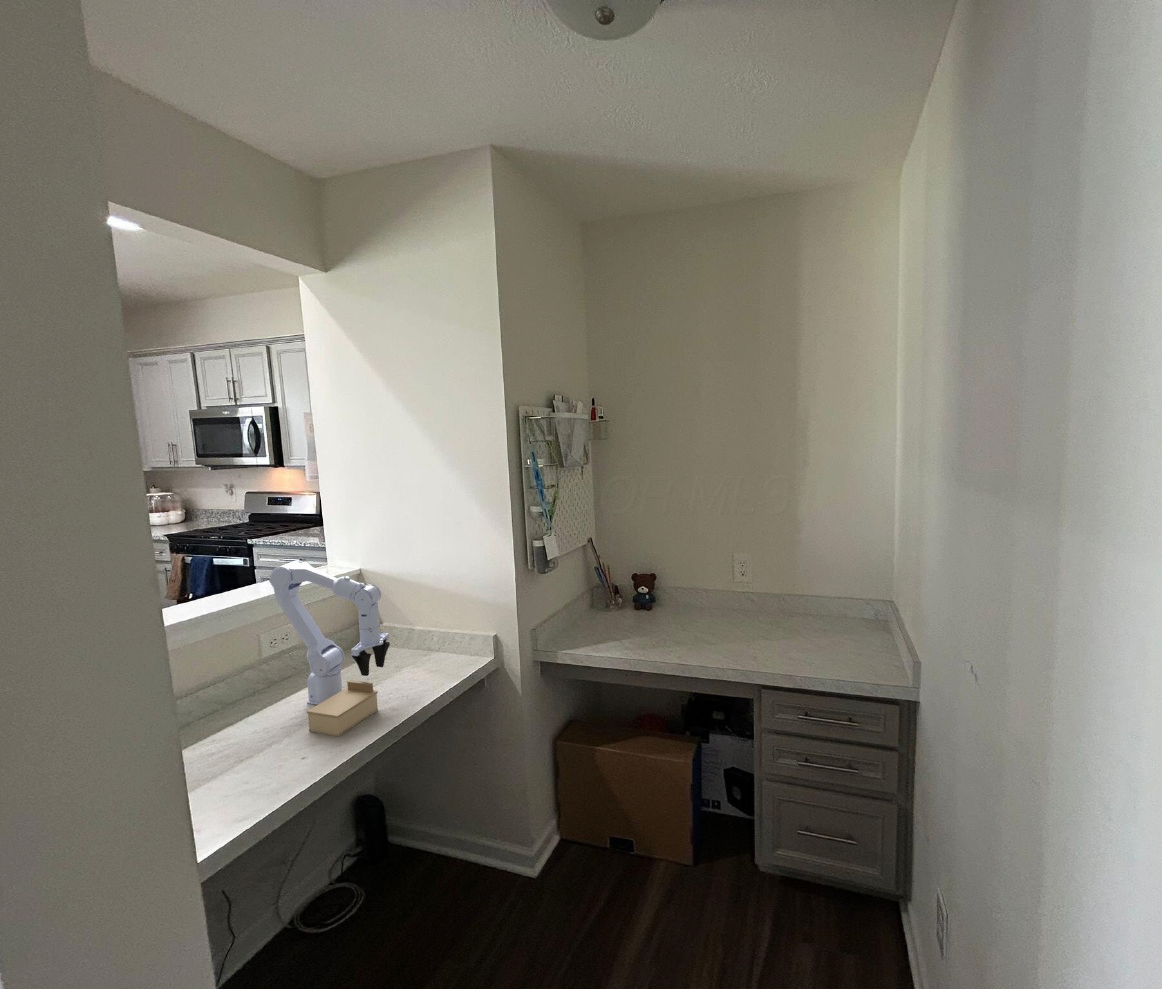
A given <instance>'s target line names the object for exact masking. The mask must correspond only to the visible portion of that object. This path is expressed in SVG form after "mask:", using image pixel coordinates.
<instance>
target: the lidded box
mask: <svg viewBox="0 0 1162 989" xmlns="http://www.w3.org/2000/svg"><path fill="white" fill-rule="evenodd" d="M378 706H379V705H378V693H377V694H375V695H374V696H372V697H371V698H369V699H367V700H366V701H364V702H363V703H361V704H359V705H358V706H356V707H355V708H353V709H351V710H350V711H348V712H347V713H345V714H344V715H342V716H340V717H339V718H333V717H327V716H321V715H315V714H308V713H307V718H308V719H307V720H308V730H309V731H308V732H311V733H317V734H322V735H323V734H324V735H329V736H335V737H340V736H342V735H343V734H345V733H346V732H348V731H349V730H351V729H352V728H354V727H356V726H357V725H359V724H360V723H362V722H363V721H365V720H366V719H367V718H369V717H370V716H372V715H374V713H376V712H378V708H379V707H378Z"/></svg>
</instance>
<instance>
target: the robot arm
mask: <svg viewBox="0 0 1162 989" xmlns="http://www.w3.org/2000/svg"><path fill="white" fill-rule="evenodd" d="M268 581H269V583H270V585H271V587H272V588H273V592H274V596H275V600H276V602H277V604H278V605H279V607H280V608H281V610H282V611H283V613H284V614H285V616H286V617H287V619H288V620H289V622H290V624H291V625H292V627H293V628H294V629H295V631H296V632H297V634H298V636H299V637H300V639H301V641H302V642H303V643H304V645H305V646H306V648H307V651H306V660H307V661H308V663H309V669H310V671H311V673H309V676H308V678H307V682H306V683H307V684H306V685H307V695H308V700H307V701H306V703H307V704H311V705H315V706H316V705H318V704H320V703H322V702H323V701H325V700H327V699H328V698H330V697H332V696H334V695H335V694H337V693H339V692H341V691H342V690H343V680H342V663H343V662H344V660H345V653H344V650H343V649H342V647H340V646H338V645H337V644H336V643H335V642H334V640H332V639H328V638H326V637H325V636H324V634H323V633H322V631H321V630H320V627H319V626H318V625H317V623H316V622H315V620H314V618H313V617H312V615H311V614H310V613H309V611H308V609H307V608H306V606H305V605H304V604H303V602H302V601H301V600H302V599H301V598H300V597H299V596H298V593H299V590H300V587H301V585H302V584H303V583H305V582H310V583H313V584H315V585H318V586H321V587H325V588H327V589H329V590H332V593H333V595H334V596H336V597H340V598H342V599H345V600H347V601H350V602H351V603H352V602H353V604H354V606H355V607H356V609H357V613H358V625H359V628H358V629H359V643H357V644H356V645H355V646H353V647H352V648H351V649H350V650H351V652H350V653H351V657H352V658H353V660H354V661H355V664H356V665H357V667H358V669H359V672H360V675H361V676H362V677H363V676H364V677H368V676H369V674H370V660H371V658H372V653H368V652H367V651H368V650H369V649H372V651H373V655H374V661H375V666H376V667H377V668H378V667H379V668H383V667H384V666H385V660H386V656H387V652H388V649H389V647H390V646H391V645H390V642H389V640H390V636H389V635H390V634H389V633H385V632H383V633H381V626H380V612H379V611H380V610H379V601H380V599H381V597H382V593H381V590H380V588H379V587H378V586H376V585H375V584H373V583H371V584H370V583H369V584H367V585H365V583H363V582H357V581H356V580H353V579H351V577H350V576H348V575H346V576H341V577H338V578H337V577H335V576H333V575H330V574H328V573H326V572H323V571H322V570H320V569H318V568H316V567H314V566H311V565H310V563H308V562H303V561H302V560H297V559H296V560H293V561H291V562H288V563H286V564H283V565H281V566H279V565H278V566H277V567H274V568H273V569H272V571H271V574H270V577H269V579H268Z"/></svg>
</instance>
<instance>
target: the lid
mask: <svg viewBox="0 0 1162 989" xmlns="http://www.w3.org/2000/svg"><path fill="white" fill-rule="evenodd" d="M375 694H377V695H378V690H374V685H373V682H366V681H359V680H352V679H351V680H350V679H349V680H348V681H347V687H346V688H344V689H342V691H341V692H339V693H337V694H335V695H334V696H332V697H330V698H328V699H327V700H325V701H323V702H322V703H320V704H318V705H315V706H313V707H311V708H310V709H308V710H307V711H306V714H307V715H308V714H315V715H321V716H327V717H333V718H339V717H340V716H342V715H344V714H345V713H347V712H348V711H350V710H351V709H353V708H355V707H356V706H358V705H359V704H361V703H363V702H364V701H366V700H367V699H369V698H371V697H372V696H374V695H375Z"/></svg>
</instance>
